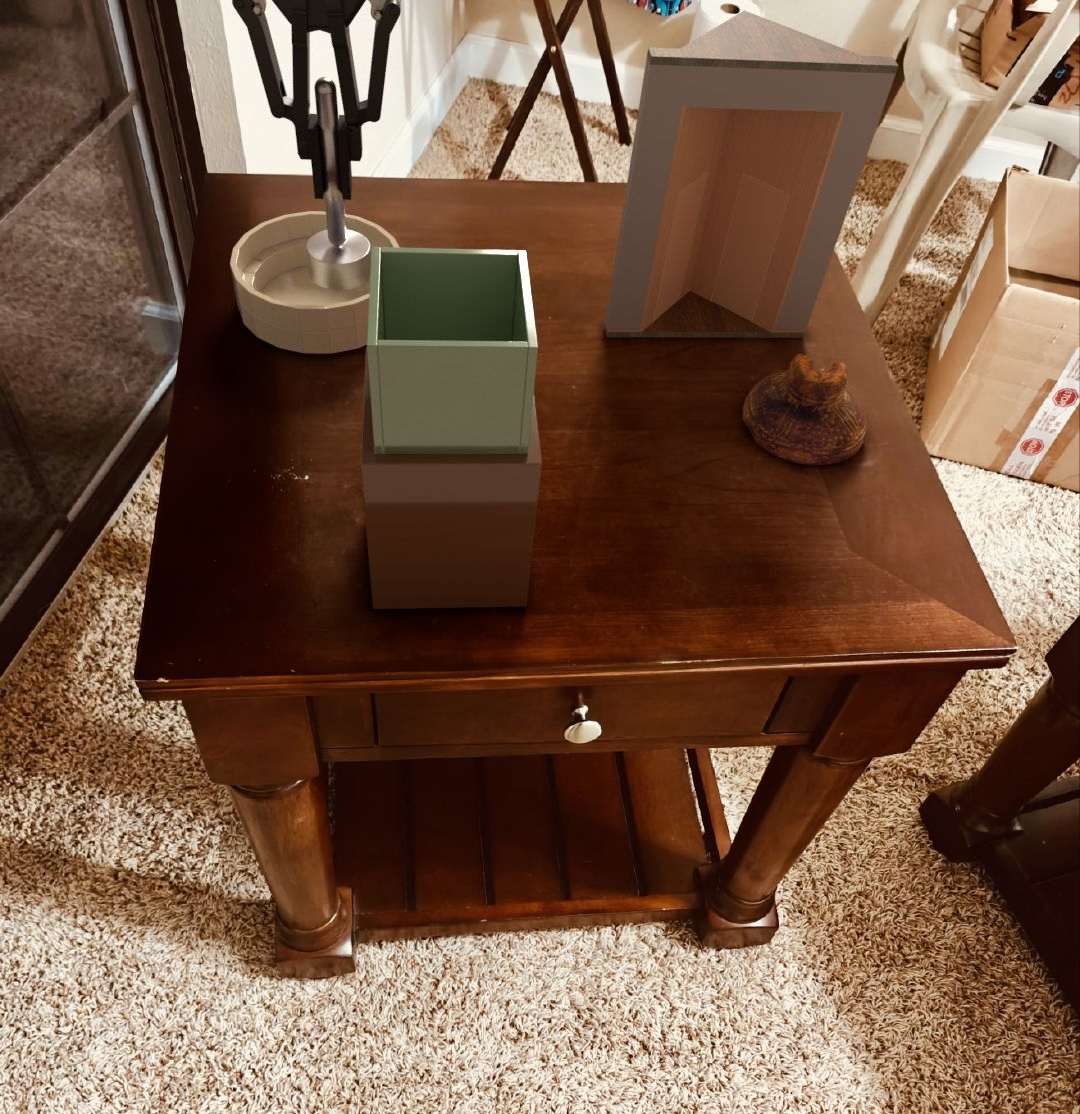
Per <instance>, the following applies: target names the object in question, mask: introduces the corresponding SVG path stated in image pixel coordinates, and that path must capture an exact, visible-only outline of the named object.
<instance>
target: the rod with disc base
mask: <svg viewBox="0 0 1080 1114" xmlns="http://www.w3.org/2000/svg"><path fill="white" fill-rule="evenodd" d="M314 98H315V109H316V114H317V122H318V131H319V142H320V153H321V164H322V176H323V187H324V197H323V200H324V208H325V209H324V210H325V212H326V221H327V230H324V231H321V232H318V233H316V234H315V235H313V236H312V237H311V238H310V239H309V240H308V242H307V245H306V249H307V258H308V267H309V275H310V278H311V279H312V281H313V282H314V283H316V284H317V285H319V286H320V287H323V288H326V289H329V290H337V291H344V290H351V289H355V288H358V287H360V286H362V285H364V284H365V283H366V282H367V281H368V280H369V279H370V273H371V254H370V243H369V241H368V240H367V238H366V237H365V236H363V235H362V234H360V233H358V232H356V231H353V230H348V229H347V227H346V214H347V213H346V202H345V201H346V200H343V196H342V183H341V170H340V157H339V143H338V123H339V108H338V107H339V106H338V92H337V85H336V83H335V81H334V80H333V79H331V78H330V77H327V76H321V77H319V78H318V79H317V80H316V81H315V83H314Z"/></svg>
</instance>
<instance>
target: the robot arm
mask: <svg viewBox="0 0 1080 1114" xmlns="http://www.w3.org/2000/svg"><path fill="white" fill-rule="evenodd" d="M271 1H272V3H273V4H274V6H276V9H278V10H279V12H280V13H281V14H282V16H283V17H284V18H285V19H286V21H287V22H288V23H289V24H290V25H291V27H290V28H291V30H290V31H291V50H292V51H291V53H292V55H291V56H292V58H291V59H292V97H290V96H288V93H287V89H286V86H285V82H284V79H283V75H282V71H281V68H280V63H279V60H278V56H277V52H276V49H275V45H274V41H273V38H272V33H271V30H270V27H269V23H268V19H267V16H266V13H265V12H266V9H267V5H268V4H267V0H231V5H232V7H233V8H234V10H235V11H236V14H238V16H239V17H240V19H241V20H242V22H243V23H244V25H245V27H246V30H247V33H248V36H249V41H250V43H251V48H252V51H253V54H254V58H255V61H256V64H257V68H258V71H259V75H260V78H261V83H262V85H263V89H264V93H265V97H266V101H267V104H268V107H269V111H270V113H271V115H272V117H274V118H275V119H280V120H281V119H285V120H287V121H290V122H291V123H292V124H293V126H294V131H295V132H294V133H295V140H296V149H297V155H298V157H299V159H300V160H304V161H305V160H307V161H310V164H311V175H312V183H313V194H314V199H315V200H324V187H323V176H322V164H321V153H320V142H319V131H318V122H317V113H311V112H310V110H311V50H310V49H311V47H310V45H311V44H310V43H311V41H310V40H311V39H310V38H311V37H310V36H311V33H313V32H317V31H321V32H323V33H327V34H330V35H329V36H330V40H331V45H332V48H333V53H334V60H335V65H336V67H335V68H336V72H337V78H338V86H339V90H340V97H341V104H342V111H343V114H338V119H339V123H338V143H339V157H340V170H341V183H342V196H343V200H345V201H352V196H353V195H352V194H353V173H352V172H353V171H352V162H361V160H362V157H363V130H362V127H363V125H364V124H365V123H369V122H370V123H377V122H379V121H380V119H381V116H382V108H383V99H384V92H385V83H386V73H387V66H388V56H389V49H390V39H391V34H392V32H393V30H394V28H395V26H396V24H397V22H398V20H399V18H400V17H401V12H402V10H401V9H402V0H368V2H369V3H370V16H371V18H372V19H373V20H374V21H375V23H374V32H373V40H372V41H373V42H372V52H371V60H370V62H371V63H370V72H369V81H368V89H367V99H364V100H361V101H360V94H359V87H358V82H357V80H358V79H357V74H356V67H355V62H354V61H355V60H354V54H353V49H352V48H353V47H352V41H351V34H350V33H351V31H350V25H351V24H352V22H353V21H354V20H355V18H356V16H357V15H358V13H359V11H361V9H362V7H363V6H364V4H365V3H366V1H367V0H271Z"/></svg>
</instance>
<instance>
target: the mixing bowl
mask: <svg viewBox="0 0 1080 1114" xmlns="http://www.w3.org/2000/svg"><path fill="white" fill-rule="evenodd" d="M346 227H347V229H348V230H353V231H356V232H358V233H360V234H362V235H363V236H365V237H366V238H367V240H368V241H369V243H370V254H371V252H372V247H395V248H401V247H400V245H399V244H398V242H397V240H396V238H395V237H394V236H393V235H392V234H390V233H389V232H388V231H387V230H386V229H385V228H383V227H382V226H380V225H379V224H376V223H375V222H372V221H370V220H368V219H365V218H364V217H361V216H357V215H352V214H348V213H346ZM324 230H327V221H326V210H325V211H324V210H323V211H322V210H321V211H317V210H313V211H312V210H307V211H302V212H294V213H288V214H283V215H280V216H277V217H274V218H271V219H269V220H266V221H263V222H261V223H259V224H258V225H256V226H255V227H254V228H251V229H250V230H248V231H247V232H245V233H244V234H243V235H242V236H241V237H240V239H239V240H238V241H237V242H236V244H234V246H233V248H232V250H231V251H232V252H231V257H230V260H229V261H230V262H229V266H230V271H231V277H232V283H233V289H234V293H235V299H236V303H237V308H238V312H239V315H240V317H241V320H242V323H243V325H245V327H247V329H248V330H249V331H251V332H252V334H253V335H254V336H255V337H256V338H258V339H259V340H262V341H264V342H266V343H268V344H270V345H272V346H274V347H275V348H279V349H282V350H288V351H291V352H295V353H301V354H322V355H323V354H324V355H325V354H328V355H329V354H337V353H341V352H347V351H353V350H358V349H360V348H363V347H364V346H367V335H368V314H369V293H370V279H369V280H368V281H367V282H366V283H365V284H364V285H362V286H360V287H358V288H355V289H351V290H344V291H337V290H329V289H326V288H323V287H320V286H319V285H317V284H316V283H314V282H313V281H312V279H311V278H310V275H309V267H308V258H307V249H306V245H307V242H308V240H309V239H310V238H311V237H312V236H313V235H315V234H316V233H318V232H321V231H324Z"/></svg>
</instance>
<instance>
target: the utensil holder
mask: <svg viewBox="0 0 1080 1114" xmlns="http://www.w3.org/2000/svg"><path fill="white" fill-rule="evenodd" d="M528 261H529V260H528V254H527V250H523V249H520V250H519V249H518V250H516V249H484V248H483V249H481V248H480V249H479V248H478V249H477V248H440V247H439V248H438V247H437V248H433V247H431V248H430V247H400V248H395V247H372V252H371V273H370V293H369V314H368V335H367V345H366V348H365V361H364V363H365V364H364V381H363V382H364V383H363V384H364V385H363V401H362V402H363V405H362V424H361V441H360V442H361V445H360V474H361V476H360V477H361V486H362V487H361V488H362V498H363V509H364V510H363V511H364V521H365V532H366V544H367V545H366V546H367V555H368V557H367V558H368V566H369V580H370V591H371V592H370V593H371V601H372V610H403V609H404V610H406V609H407V610H408V609H462V608H463V609H464V608H466V609H468V608H470V609H471V608H517V607H519V608H520V607H521V608H522V607H523V608H524V607H527V603H528V595H529V586H530V578H531V568H532V559H533V551H534V544H535V543H534V541H535V534H536V533H535V532H536V524H537V515H538V507H539V506H538V505H539V498H540V488H541V479H542V471H543V458H542V449H541V440H540V431H539V423H538V415H537V414H538V413H537V405H536V404H537V403H536V395H535V385H536V375H537V364H538V355H539V344H538V333H537V326H536V319H535V311H534V303H533V302H534V301H533V294H532V286H531V278H530V269H529V262H528Z"/></svg>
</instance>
